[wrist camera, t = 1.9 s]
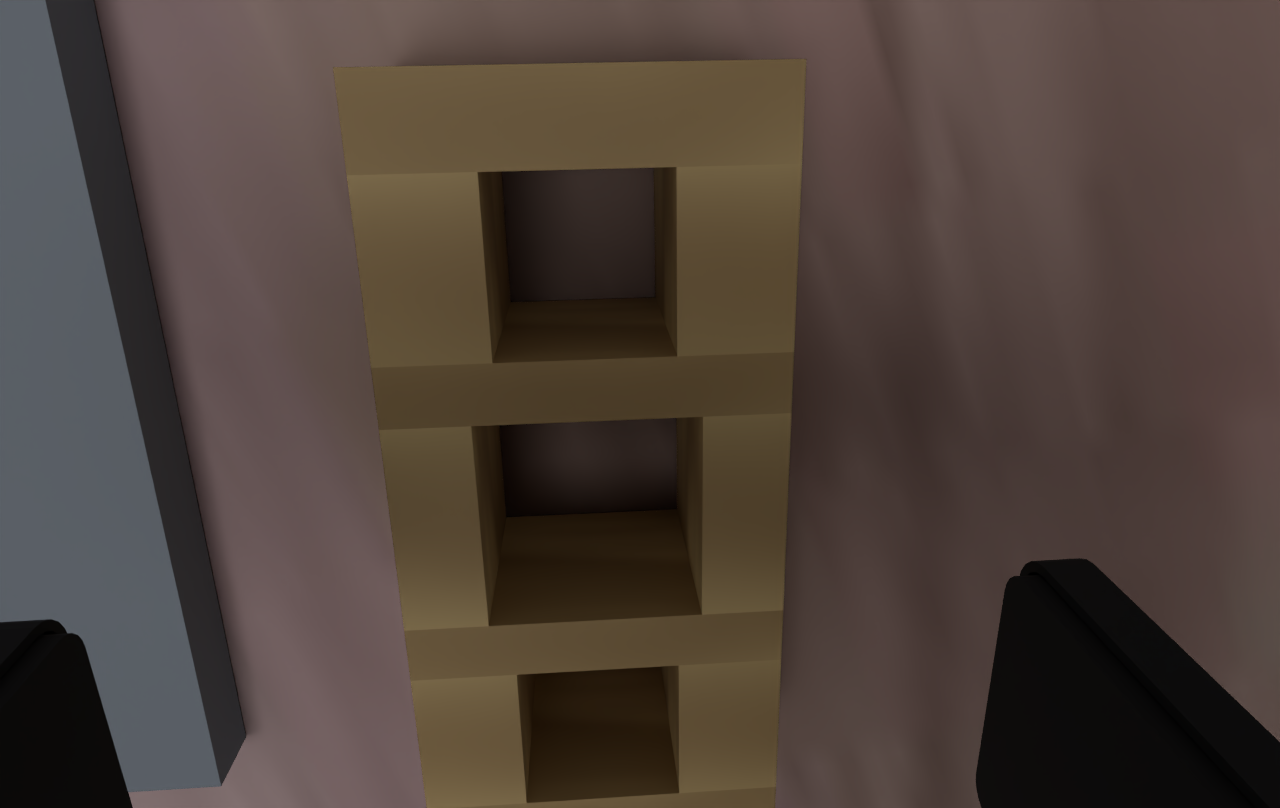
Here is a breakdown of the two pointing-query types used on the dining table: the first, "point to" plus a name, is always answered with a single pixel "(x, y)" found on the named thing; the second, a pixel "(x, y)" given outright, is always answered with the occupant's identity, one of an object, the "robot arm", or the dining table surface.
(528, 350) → the tan slatted rectangular block
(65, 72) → the slate board
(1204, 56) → the dining table surface
